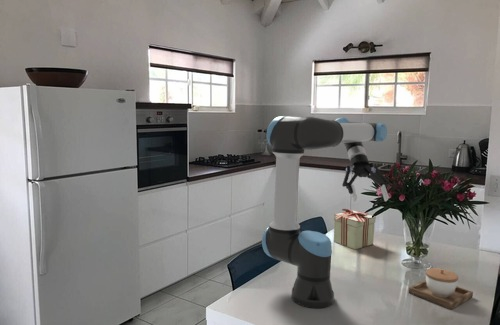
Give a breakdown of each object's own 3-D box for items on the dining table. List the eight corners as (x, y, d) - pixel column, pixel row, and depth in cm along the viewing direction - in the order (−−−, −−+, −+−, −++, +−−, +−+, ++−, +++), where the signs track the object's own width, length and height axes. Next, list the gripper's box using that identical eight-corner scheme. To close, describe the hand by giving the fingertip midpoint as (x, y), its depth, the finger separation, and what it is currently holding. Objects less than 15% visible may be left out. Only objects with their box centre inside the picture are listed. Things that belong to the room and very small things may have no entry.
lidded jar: (449, 288, 153) (451, 264, 152) (461, 301, 143) (463, 276, 142) (420, 286, 154) (422, 263, 153) (430, 299, 144) (432, 274, 142)
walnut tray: (451, 309, 137) (452, 303, 137) (408, 292, 150) (409, 287, 150) (472, 297, 147) (472, 291, 147) (430, 282, 160) (430, 277, 159)
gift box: (327, 243, 206) (329, 210, 204) (349, 236, 217) (351, 205, 215) (355, 252, 193) (357, 217, 191) (377, 245, 205) (379, 212, 202)
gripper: (381, 164, 180) (396, 204, 167) (328, 163, 177) (339, 204, 164) (388, 153, 174) (403, 194, 162) (333, 153, 171) (344, 194, 158)
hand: (371, 199), depth 163 cm, fingers open, 13 cm apart
